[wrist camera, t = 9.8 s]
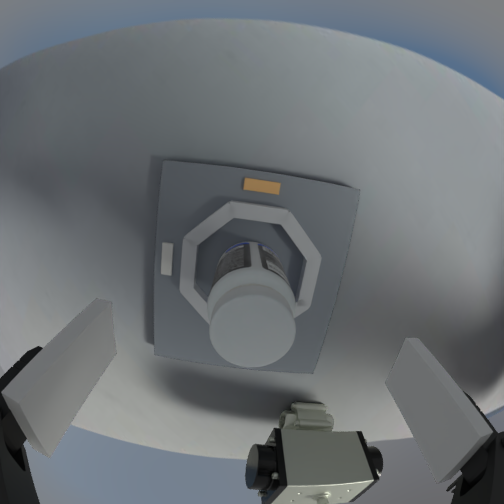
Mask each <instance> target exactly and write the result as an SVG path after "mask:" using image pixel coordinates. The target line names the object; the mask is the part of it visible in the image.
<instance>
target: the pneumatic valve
mask: <svg viewBox="0 0 504 504" xmlns="http://www.w3.org/2000/svg"><path fill="white" fill-rule="evenodd" d="M291 409H292V410H291V411H287V410H284V411H283V412H282V413H281V415H280V419H279V428H274V429H273V431H272V432H271V434H270V436H269V438H268V440H267V442H266V443H265V445H262V444H254V445H253V446H252V447H251V449H250V452H249V455H248V459H247V464H246V473H245V480H246V485H247V487H248V488H249V489H255V490H259V492H258V496H260V497H261V500H262V504H337V503H345V502H353V501H355V500H356V499H357V498H358V497H360V496H361V495H362V494H363V493H365V492H366V491H367V490H368V489H369V488H370V487H371V486H373V485H374V484H375V483H376V482H377V481H378V480H379V477H380V475H381V473H382V469H383V458H382V454H381V452H380V451H379V449H377V448H376V447H374V446H367V444H366V443H367V440H366V439H364V436H363V434H362V431H349V432H336V431H332V429H333V426H334V419H333V416H332V415H330V414H326V413H325V411H326V410H327V409H328V408H327V406H324V404H316V403H305V402H294V403H292V404H291Z"/></svg>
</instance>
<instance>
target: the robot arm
mask: <svg viewBox="0 0 504 504" xmlns="http://www.w3.org/2000/svg"><path fill="white" fill-rule="evenodd" d="M115 355H116V345H115V336H114V326H113V314H112V302H111V301H106V300H102V299H98V298H96V299H95V300H94V301H93V302H92V303H91V304H90V305H89V306H88V307H86V308H85V309H84V310H83V311H82V312H81V313H80V314H79V315H78V316H77V317H75V318H74V319H73V320H72V321H71V322H70V323H69V324H68V325H67V326H66V327H65V328H64V329H63V330H62V331H61V332H59V333H58V334H57V335H56V336H55V337H54V338H53V339H52V340H51V341H50V342H49V343H48V344H47V345H46V346H45V347H44V348H42V347H39V346H38V347H36V348H33V349H31V350H29V351H27V352H26V353H25V354H24V355H23V356H22V357H21V358H20V360H19V361H17V362H16V363H15V364H14V365H13V367H11V368H10V369H9V370H8V371H7V372H6V373H5V374H4V375H3V376H2V377H1V378H0V504H40V502H39V499H38V496H37V493H36V490H35V487H34V483H33V480H32V476H31V472H30V468H29V463H28V459H27V455H26V450H25V448H24V445H23V443H24V442H25V441H26V439H27V440H28V442H29V443H30V445H31V446H32V448H33V449H35V450H37V451H38V452H40V453H42V454H43V455H45V456H47V457H49V458H50V457H51V456H52V454H53V452H54V451H55V449H56V447H57V446H58V444H59V442H60V440H61V439H62V437H63V435H64V434H65V432H66V431H67V429H68V427H69V426H70V424H71V422H72V421H73V419H74V417H75V416H76V414H77V413H78V411H79V410H80V408H81V406H82V405H83V403H84V402H85V400H86V399H87V397H88V395H89V394H90V392H91V391H92V389H93V388H94V386H95V385H96V383H97V382H98V380H99V379H100V377H101V376H102V374H103V373H104V371H105V370H106V368H107V367H108V365H109V364H110V362H111V361H112V359H113V358H114V356H115ZM385 384H386V386H387V387H388V389H389V391H390V393H391V395H392V397H393V398H394V400H395V402H396V404H397V406H398V408H399V409H400V411H401V413H402V415H403V417H404V419H405V421H406V423H407V425H408V427H409V428H410V430H411V432H412V434H413V436H414V438H415V440H416V442H417V444H418V446H419V448H420V450H421V452H422V454H423V456H424V458H425V460H426V462H427V464H428V466H429V469H430V470H431V473H432V475H433V477H434V479H435V481H436V483H437V484H438V483H441V482H444V481H446V480H449V479H451V478H452V477H453V476H454V475H455V474H456V473H457V472H458V471H459V470H461V472H462V475H461V476H460V477H459V478H457V480H455V481H454V482H453V483H452V484H451V485H450V486H449V487H448V489H447V490H446V491H449V490H450V489H452V488H453V487H454V486H455V485H456V488H455V489H454V490H452V493H454V495H453V499H452V502H451V504H504V432H500V433H499V434H498V433H497V431H496V430H495V429H494V427H493V426H492V425H491V423H490V422H489V420H488V419H487V418H486V416H485V415H484V414H483V412H482V411H481V412H480V408H479V407H478V406H477V405H476V403H475V402H474V401H473V399H472V398H471V397H470V396H469V395H468V394H466V393H465V392H464V391H462V390H461V389H460V387H459V386H458V385H457V384H456V382H455V381H454V380H453V379H452V377H451V376H450V375H449V374H448V373H447V371H446V370H445V369H444V368H443V367H442V365H441V364H440V363H439V362H438V361H437V359H436V358H435V357H434V356H433V355H432V353H431V352H430V351H429V350H428V349H427V348H426V347H425V345H424V344H423V343H422V342H421V341H420V340H419V338H405V340H404V343H403V345H402V347H401V350H400V352H399V354H398V356H397V359H396V361H395V363H394V365H393V367H392V370H391V372H390V374H389V376H388V378H387V380H386V382H385Z"/></svg>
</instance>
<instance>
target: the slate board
mask: <svg viewBox="0 0 504 504" xmlns="http://www.w3.org/2000/svg"><path fill="white" fill-rule="evenodd" d="M359 195H360V190H359V189H355V188H350V187H346V186H341V185H336V184H331V183H326V182H321V181H316V180H311V179H305V178H300V177H294V176H289V175H283V174H277V173H270V172H264V171H257V170H250V169H243V168H235V167H228V166H219V165H211V164H202V163H192V162H181V161H169V160H163V164H162V172H161V181H160V190H159V200H158V212H157V225H156V240H155V261H154V351H155V355H157V356H162V357H168V358H173V359H179V360H184V361H190V362H197V363H203V364H210V365H217V366H225V367H233V368H242V369H251V370H262V371H275V372H290V373H311V374H313V372H314V369H315V366H316V364H317V361H318V357H319V354H320V351H321V348H322V345H323V342H324V339H325V336H326V332H327V329H328V326H329V322H330V319H331V315H332V312H333V308H334V305H335V301H336V297H337V294H338V290H339V286H340V282H341V278H342V274H343V270H344V266H345V262H346V258H347V254H348V249H349V245H350V240H351V236H352V231H353V226H354V221H355V216H356V211H357V206H358V201H359ZM249 241H250V242H258V243H261V244H264V245H266V246H268V247H269V248H271V249H272V250H273V251H274V252H275V253H276V254H277V256H278V257H279V259H280V261H281V264H282V266H283V269H284V271H285V274H286V277H287V279H288V282H289V284H290V287H291V289H292V291H293V294H294V297H295V303H296V311H295V317H294V320H295V325H296V334H295V339H294V342H293V344H292V346H291V348H290V349H289V350H288V352H287V353H286V354H285V355H284V356H283V357H282V358H280V359H279V360H277V361H276V362H274V363H271V364H269V365H266V366H262V367H242V366H238V365H235V364H232V363H230V362H228V361H226V360H225V359H224V358H222V357H221V356H220V355H219V354H218V353H217V352H216V350H215V349H214V347H213V345H212V343H211V340H210V334H209V326H210V322H209V318H208V314H207V301H208V297H209V293H210V290H211V286H212V282H213V279H214V275H215V272H216V268H217V265H218V262H219V260H220V258H221V256H222V255H223V254H224V252H225V251H226V250H227V249H229V248H230V247H232V246H233V245H235V244H238V243H241V242H249Z"/></svg>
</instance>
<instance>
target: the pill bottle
mask: <svg viewBox="0 0 504 504" xmlns="http://www.w3.org/2000/svg"><path fill="white" fill-rule="evenodd" d="M295 311H296V303H295V297H294V294H293V291H292V289H291V287H290V284H289V282H288V279H287V277H286V274H285V271H284V269H283V266H282V264H281V261H280V259H279V257H278V256H277V254H276V253H275V252H274V251H273V250H272V249H271V248H269V247H268V246H266V245H264V244H261V243H258V242H250V241H249V242H241V243H238V244H235V245H233V246H232V247H230V248H229V249H227V250H226V251H225V252H224V254H223V255H222V256H221V258H220V260H219V262H218V265H217V268H216V272H215V275H214V279H213V282H212V286H211V290H210V293H209V297H208V301H207V314H208V318H209V322H210V326H209V334H210V340H211V343H212V345H213V347H214V349H215V350H216V352H217V353H218V354H219V355H220V356H221V357H222V358H224V359H225V360H226V361H228V362H230V363H232V364H235V365H238V366H242V367H262V366H266V365H269V364H271V363H274V362H276V361H277V360H279V359H280V358H282V357H283V356H284V355H285V354H286V353H287V352H288V350H289V349H290V348H291V346H292V344H293V342H294V339H295V334H296V325H295V320H294V317H295Z"/></svg>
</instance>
